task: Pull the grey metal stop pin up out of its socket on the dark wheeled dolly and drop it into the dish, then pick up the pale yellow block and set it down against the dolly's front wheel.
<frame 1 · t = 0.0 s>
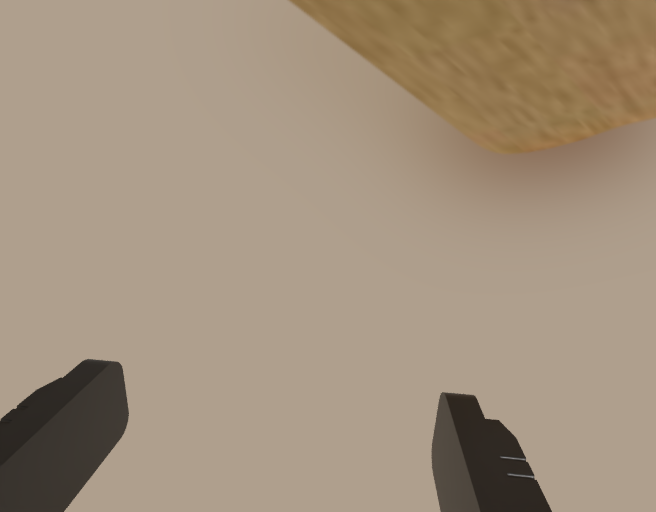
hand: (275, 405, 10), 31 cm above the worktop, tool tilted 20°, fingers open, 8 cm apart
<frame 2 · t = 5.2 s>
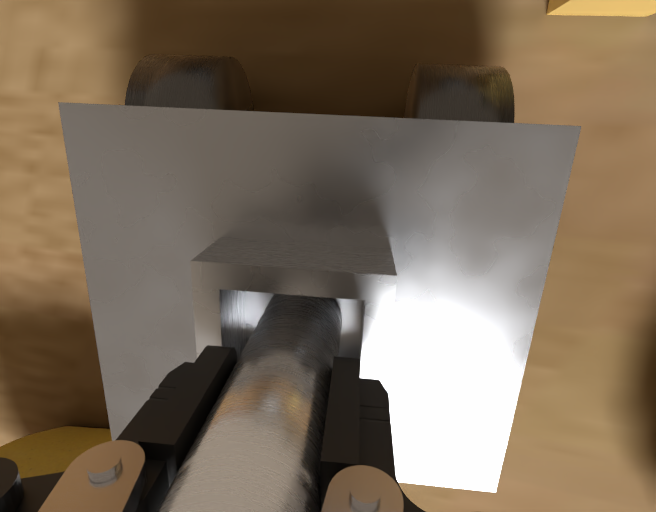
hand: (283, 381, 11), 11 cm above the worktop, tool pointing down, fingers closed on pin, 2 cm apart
flower pot: (107, 452, 27), on the worktop
pin: (303, 320, 14), point 7 cm above the worktop, touching dolly, gripper
dolly: (322, 258, 21), on the worktop
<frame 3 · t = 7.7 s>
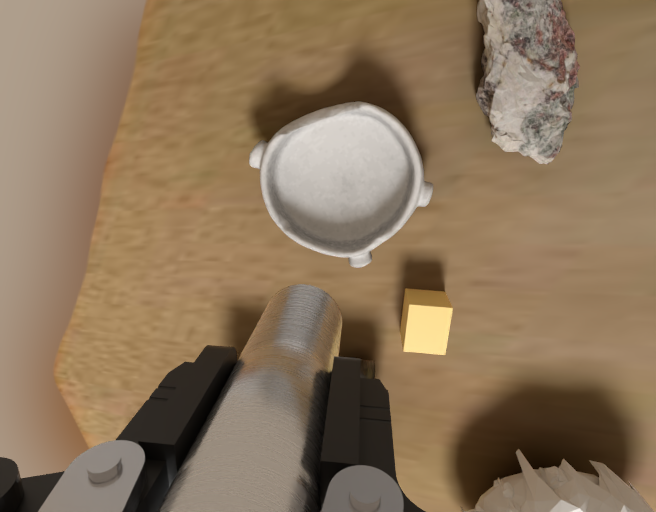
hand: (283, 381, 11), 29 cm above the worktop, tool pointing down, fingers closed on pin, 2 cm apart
dish: (345, 179, 38), on the worktop
bowl: (537, 497, 48), on the worktop
pin: (303, 320, 14), point 26 cm above the worktop, touching gripper
mineral rock: (516, 75, 34), on the worktop
pale yellow block: (421, 311, 42), on the worktop
when the fingers open (8 cm above the worktop, at t = 10.6 s): pin stays where it is, resting on dish.
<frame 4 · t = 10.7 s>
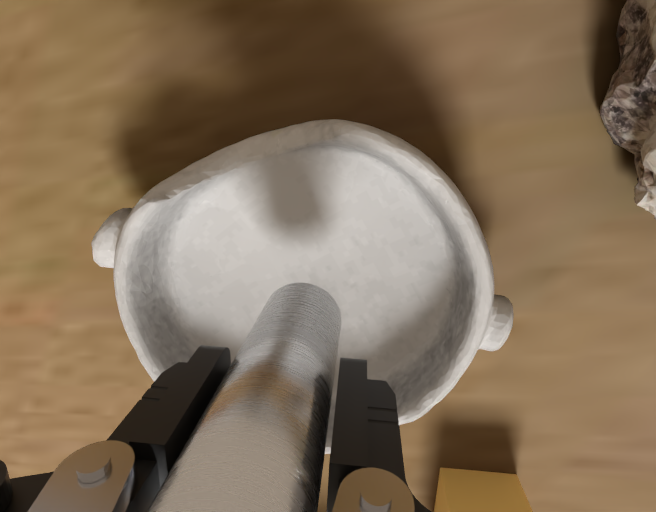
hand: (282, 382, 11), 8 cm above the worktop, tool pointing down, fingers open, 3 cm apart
dish: (319, 270, 19), on the worktop, touching pin
pin: (302, 319, 14), point 5 cm above the worktop, touching dish
pale yellow block: (471, 504, 22), on the worktop
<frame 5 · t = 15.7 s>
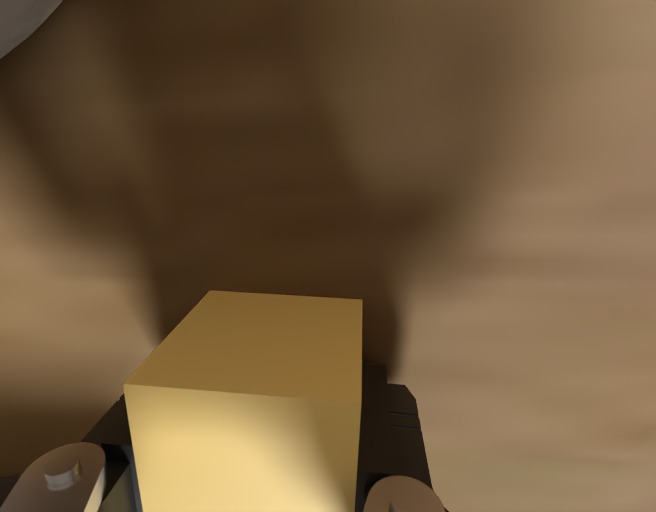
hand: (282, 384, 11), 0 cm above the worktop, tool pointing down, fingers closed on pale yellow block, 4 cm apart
pale yellow block: (285, 377, 11), on the worktop, touching gripper
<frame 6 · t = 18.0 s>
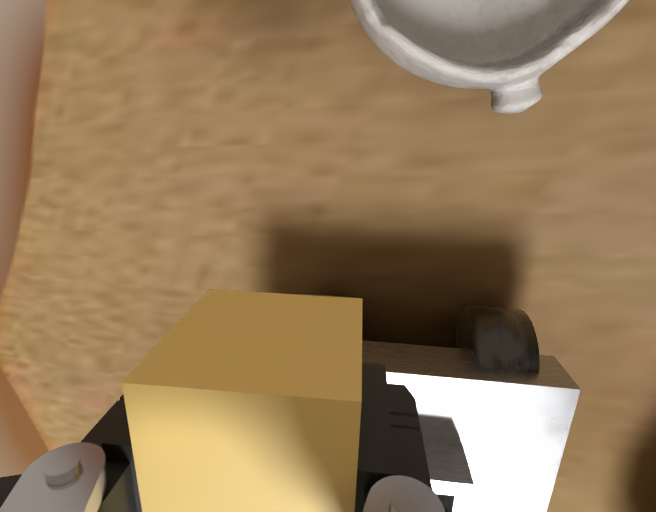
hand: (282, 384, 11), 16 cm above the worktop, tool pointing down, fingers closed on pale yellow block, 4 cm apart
pale yellow block: (285, 376, 11), point 15 cm above the worktop, touching gripper
dolly: (395, 400, 29), on the worktop
when the fingers open (2 cm above the worktop, at t = 20.5 s): pale yellow block drops 1 cm, on the worktop.
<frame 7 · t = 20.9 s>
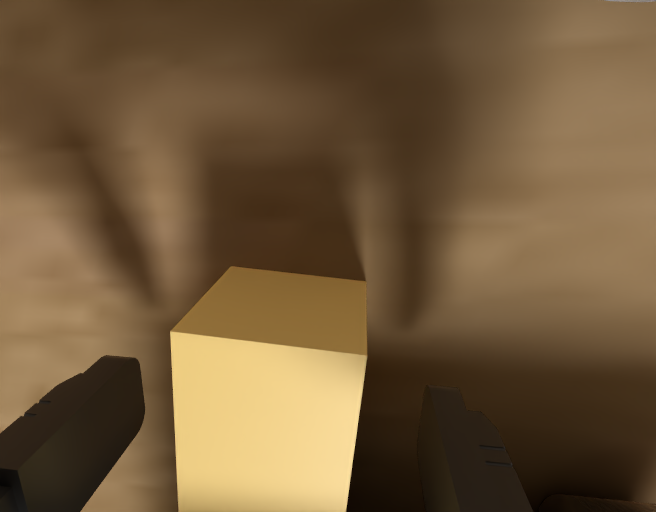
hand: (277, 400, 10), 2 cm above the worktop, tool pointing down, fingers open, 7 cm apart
pale yellow block: (293, 346, 13), on the worktop
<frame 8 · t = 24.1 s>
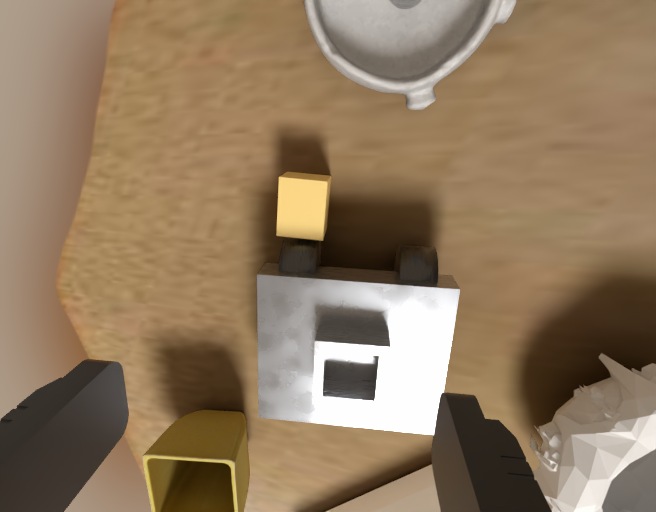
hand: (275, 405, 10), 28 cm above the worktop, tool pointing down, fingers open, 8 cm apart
white faceted prism: (381, 507, 48), on the worktop
flower pot: (224, 425, 46), on the worktop
dish: (401, 8, 32), on the worktop, touching pin
bowl: (617, 418, 41), on the worktop
pale yellow block: (307, 200, 37), on the worktop
dolly: (353, 320, 40), on the worktop
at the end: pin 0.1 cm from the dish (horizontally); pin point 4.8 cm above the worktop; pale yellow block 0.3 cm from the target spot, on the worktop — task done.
